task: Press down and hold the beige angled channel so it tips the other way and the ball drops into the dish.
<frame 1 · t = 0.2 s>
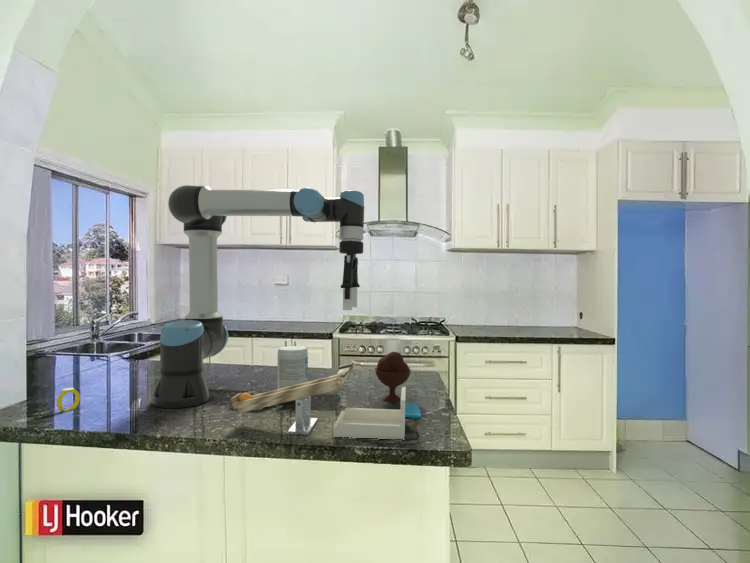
hand: (350, 308, 143), 28 cm above the table, tool pointing down, fingers open, 13 cm apart
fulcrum: (303, 426, 113), on the table
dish: (371, 429, 112), on the table
ice cream bowl: (392, 400, 139), on the table
sponge: (412, 413, 128), on the table
supplement tub: (292, 394, 145), on the table
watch: (68, 410, 125), on the table
egg carton: (252, 406, 132), on the table
ball: (245, 398, 114), point 7 cm above the table, touching beige angled channel
beige angled channel: (298, 381, 124), point 9 cm above the table, hinge at -15.3°, touching ball
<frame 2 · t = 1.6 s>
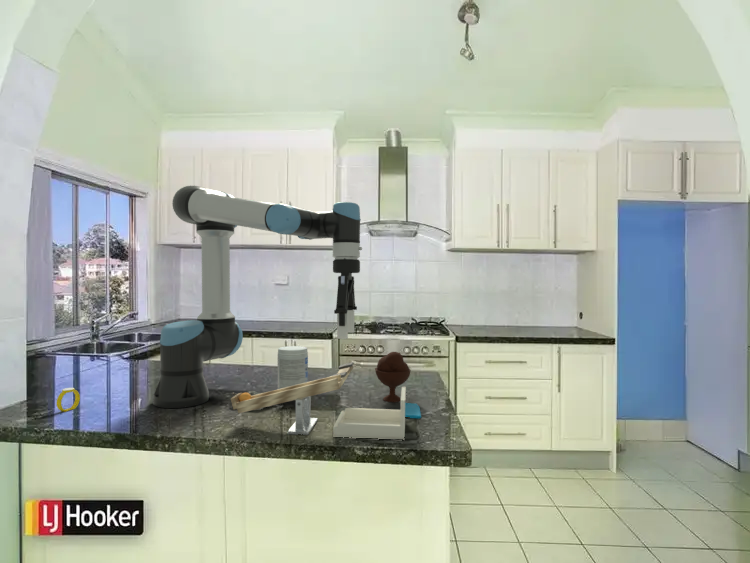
hand: (346, 335, 126), 21 cm above the table, tool pointing down, fingers open, 13 cm apart
nothing on the table moved.
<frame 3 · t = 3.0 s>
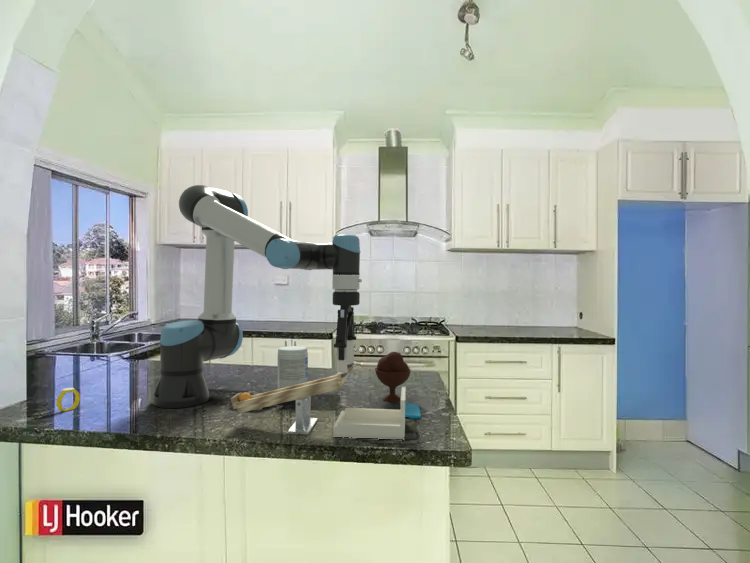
hand: (345, 367, 126), 12 cm above the table, tool pointing down
beige angled channel: (298, 381, 124), point 9 cm above the table, hinge at -15.2°, touching ball, gripper
everything else where it was.
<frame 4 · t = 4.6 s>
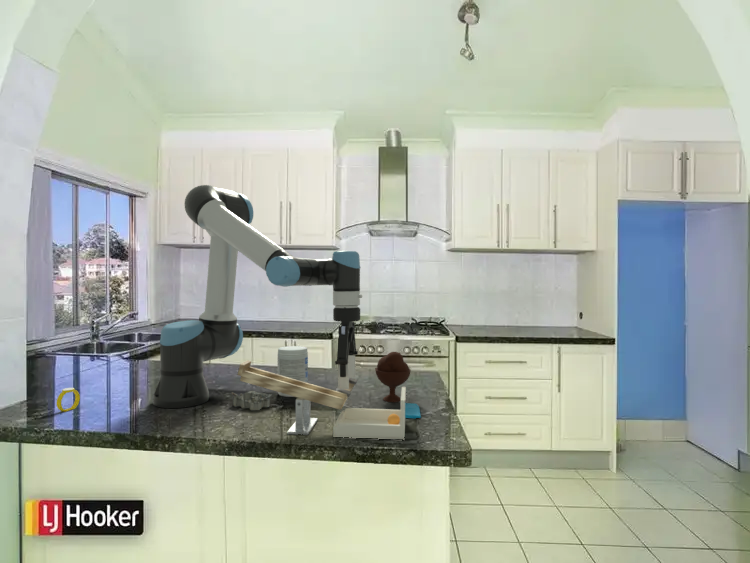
hand: (347, 383, 126), 8 cm above the table, tool pointing down
ball: (393, 420, 111), point 3 cm above the table, tilted 39°
beige angled channel: (303, 375, 124), point 10 cm above the table, hinge at 13.9°, touching gripper
everything else where it was.
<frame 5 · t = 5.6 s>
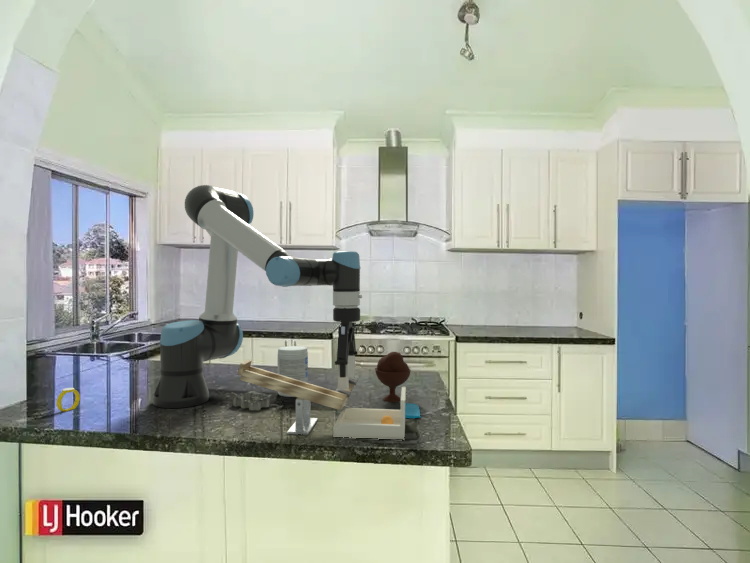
hand: (347, 383, 126), 8 cm above the table, tool pointing down
ball: (387, 421, 112), point 2 cm above the table, tilted 39°, touching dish
beige angled channel: (304, 375, 124), point 11 cm above the table, hinge at 14.6°, touching gripper
everything else where it was.
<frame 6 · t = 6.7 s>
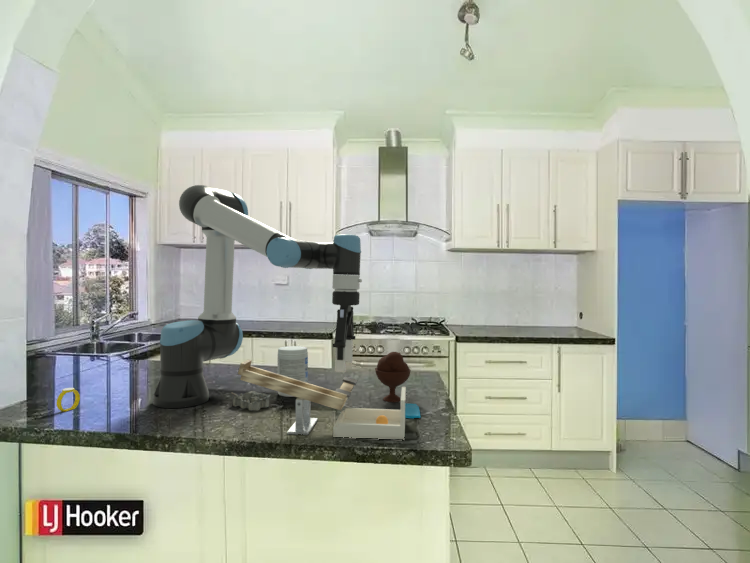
hand: (344, 366, 127), 12 cm above the table, tool pointing down, fingers open, 13 cm apart
ball: (382, 421, 112), point 2 cm above the table, tilted 9°, touching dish
beige angled channel: (304, 375, 124), point 11 cm above the table, hinge at 14.8°
everything else where it was.
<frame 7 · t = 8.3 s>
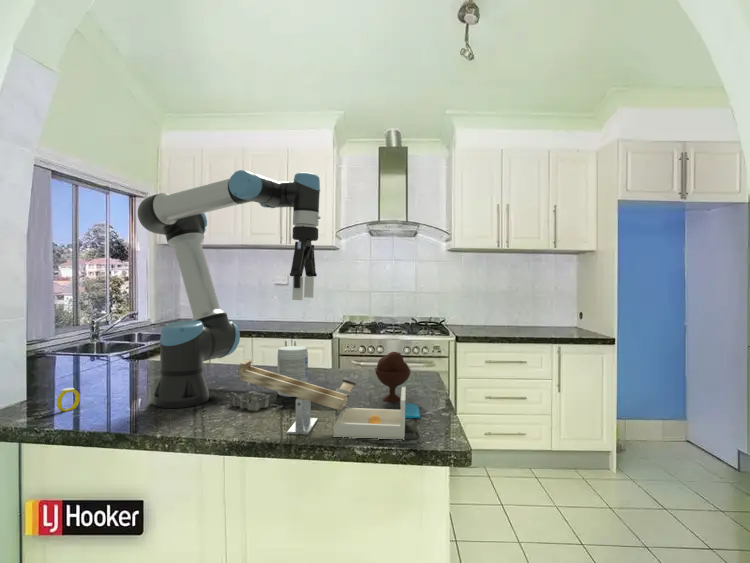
hand: (303, 298, 134), 31 cm above the table, tool pointing down, fingers open, 13 cm apart
ball: (374, 421, 112), point 2 cm above the table, tilted 79°, touching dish
everything else where it was.
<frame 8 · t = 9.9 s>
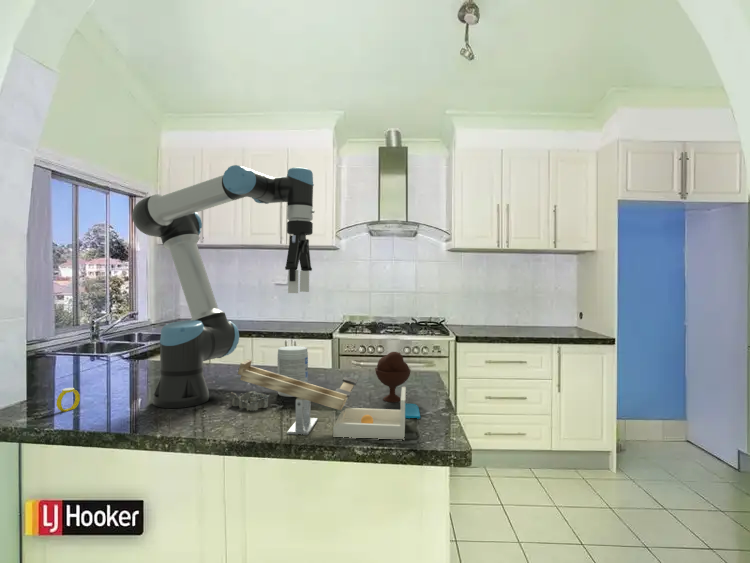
hand: (299, 292, 135), 33 cm above the table, tool pointing down, fingers open, 13 cm apart
ball: (367, 421, 112), point 2 cm above the table, tilted 149°, touching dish
everything else where it was.
at the end: ball inside the target area on the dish (1.0 cm from its centre), point 2.1 cm above the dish's base; ball moved 31.3 cm from its start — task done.
